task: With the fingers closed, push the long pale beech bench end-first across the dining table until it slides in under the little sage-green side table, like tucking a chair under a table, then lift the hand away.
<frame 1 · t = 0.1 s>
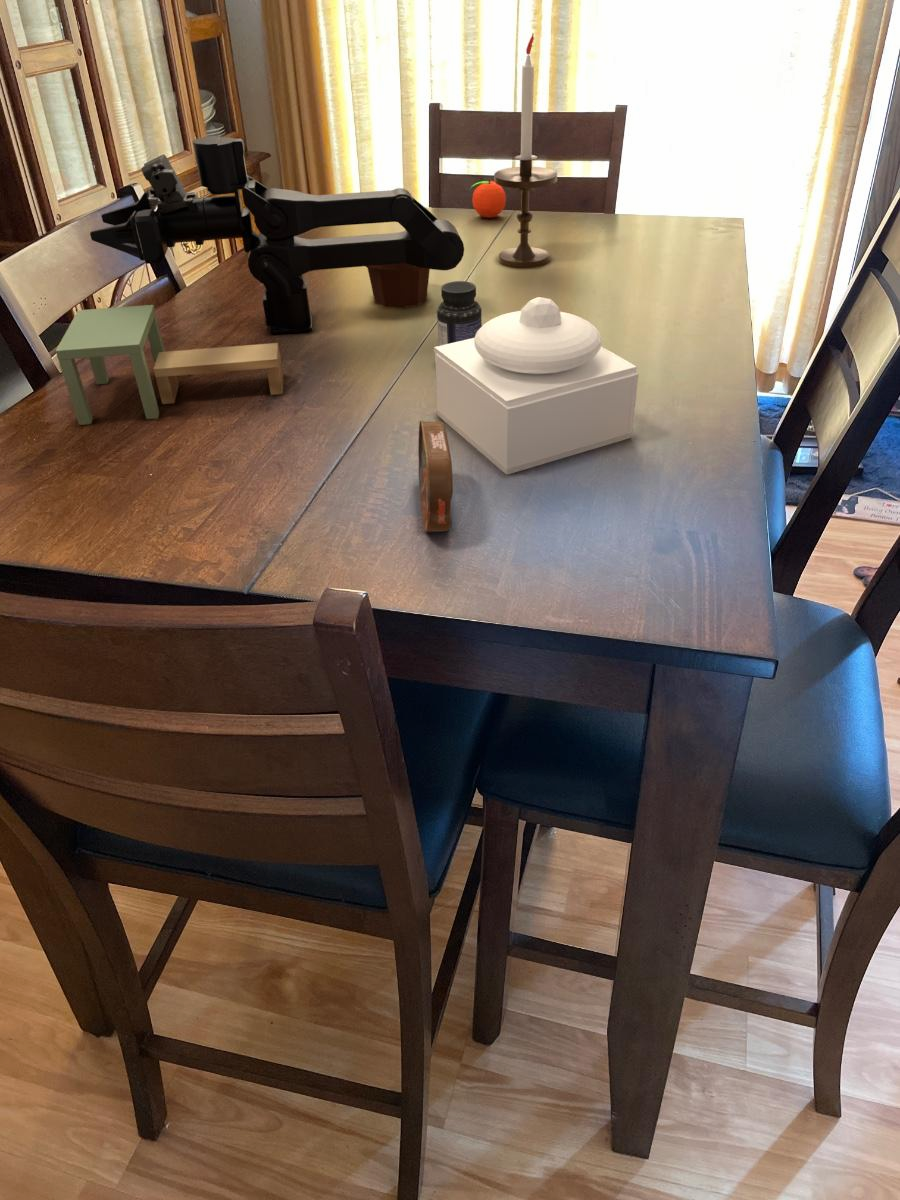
hand: (96, 227, 126), 17 cm above the table, tool horizontal, fingers open, 9 cm apart
clementine: (486, 218, 183), on the table
pill bottle: (460, 366, 125), on the table
candlestick: (523, 260, 161), on the table
muffin: (400, 299, 146), on the table
side table: (127, 398, 119), on the table
tin: (436, 510, 95), on the table
white lidded box: (531, 426, 110), on the table
bench: (224, 390, 120), on the table
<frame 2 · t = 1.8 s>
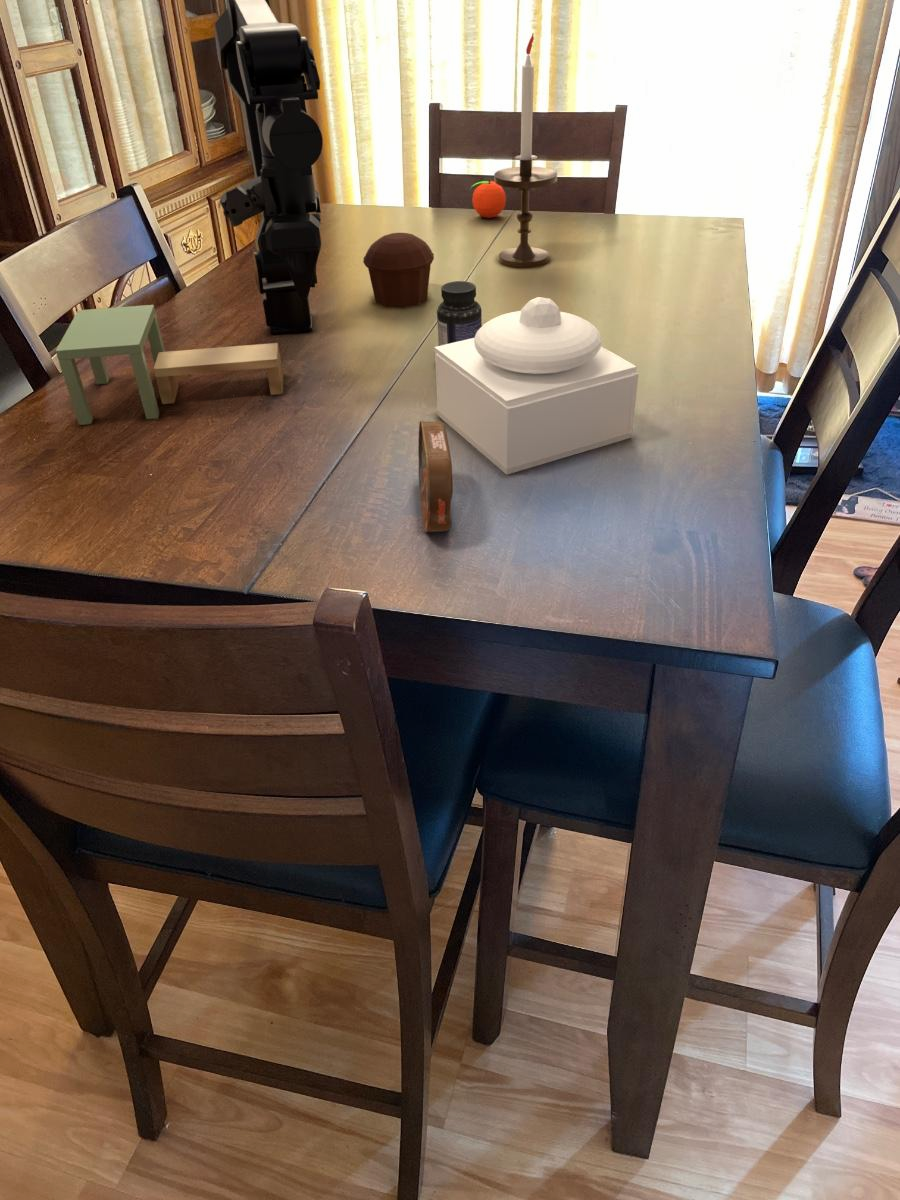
hand: (304, 287, 113), 13 cm above the table, tool pointing down, fingers open, 8 cm apart
nothing on the table moved.
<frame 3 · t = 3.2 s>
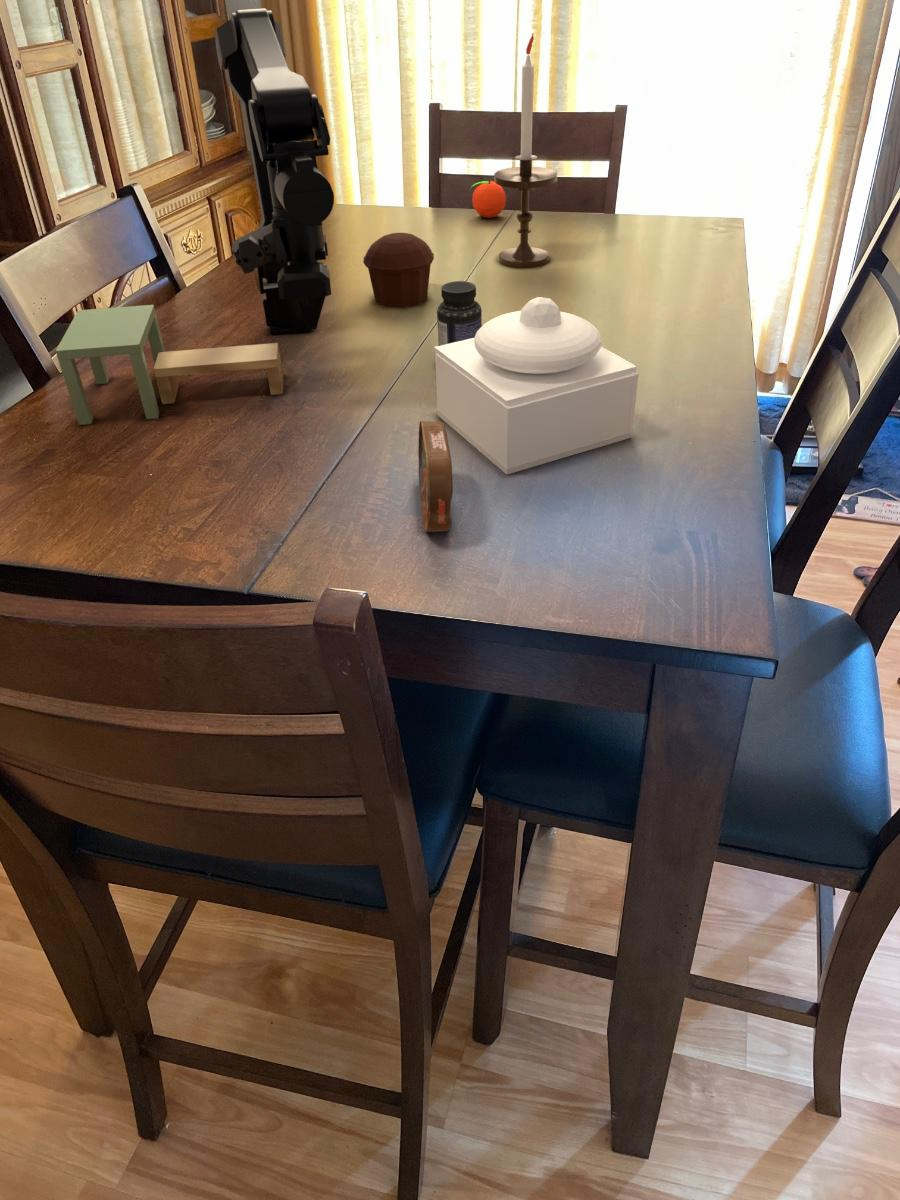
hand: (312, 328, 117), 8 cm above the table, tool pointing down, fingers closed
nothing on the table moved.
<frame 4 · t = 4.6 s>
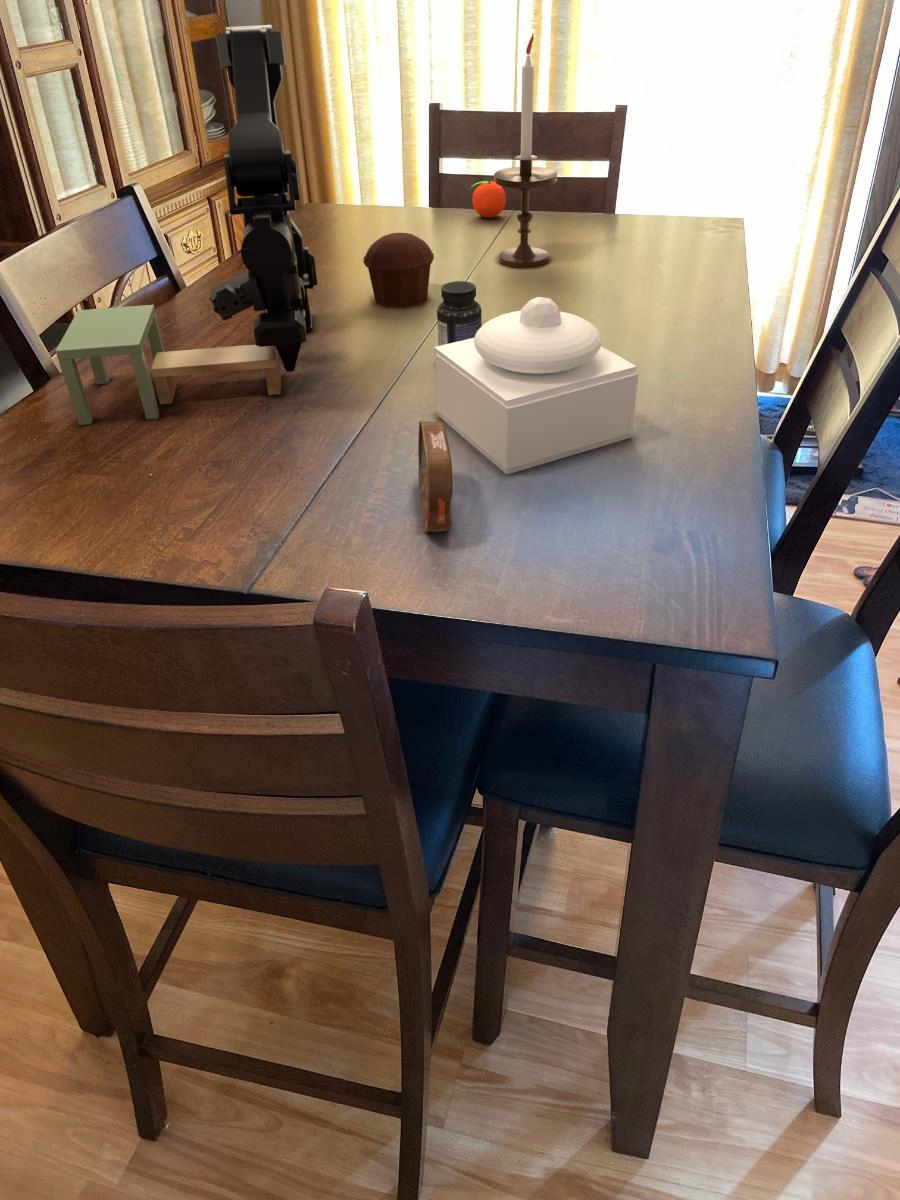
hand: (290, 370, 120), 2 cm above the table, tool pointing down, fingers closed, pressing on bench
bench: (222, 390, 120), on the table, touching gripper
everything else where it was.
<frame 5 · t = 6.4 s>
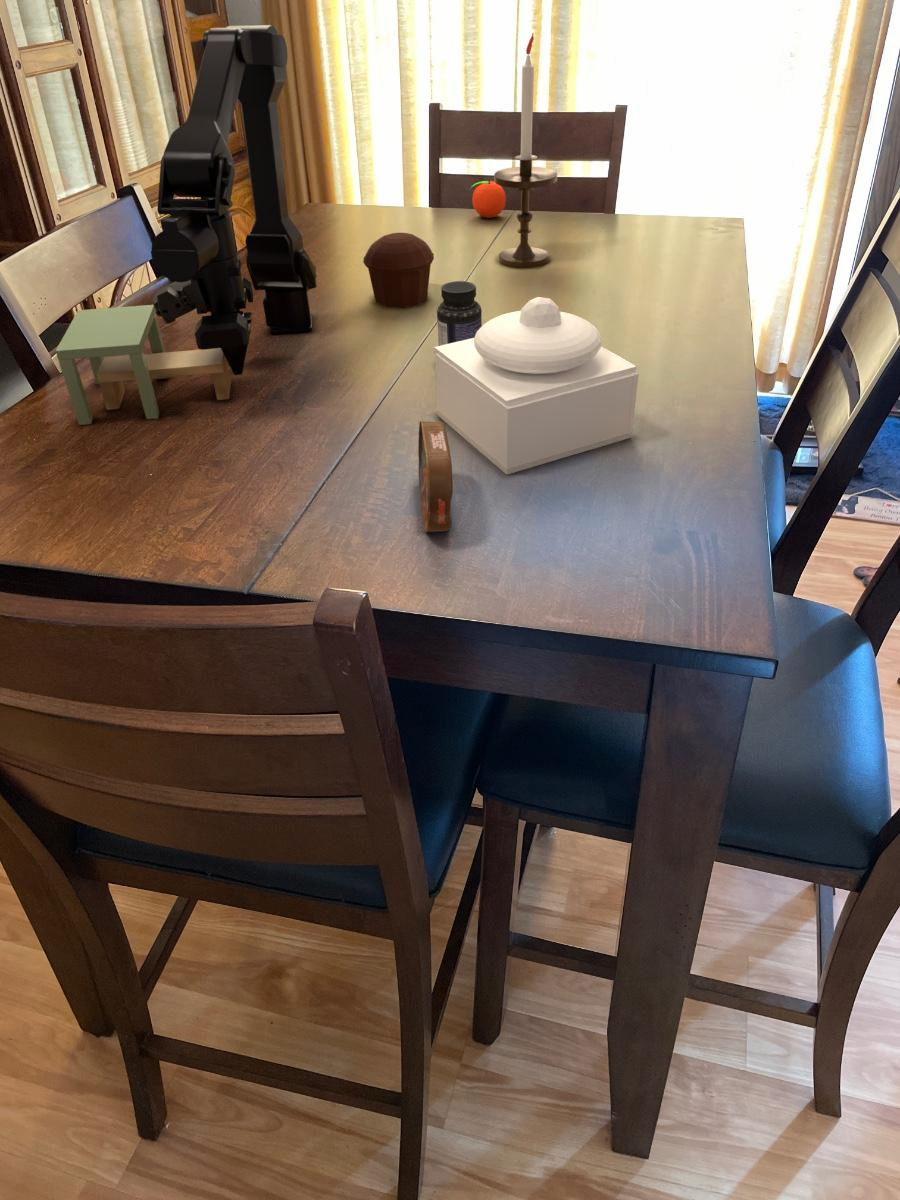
hand: (238, 373, 119), 2 cm above the table, tool pointing down, fingers closed, pressing on bench
bench: (170, 395, 119), on the table, touching gripper
everything else where it was.
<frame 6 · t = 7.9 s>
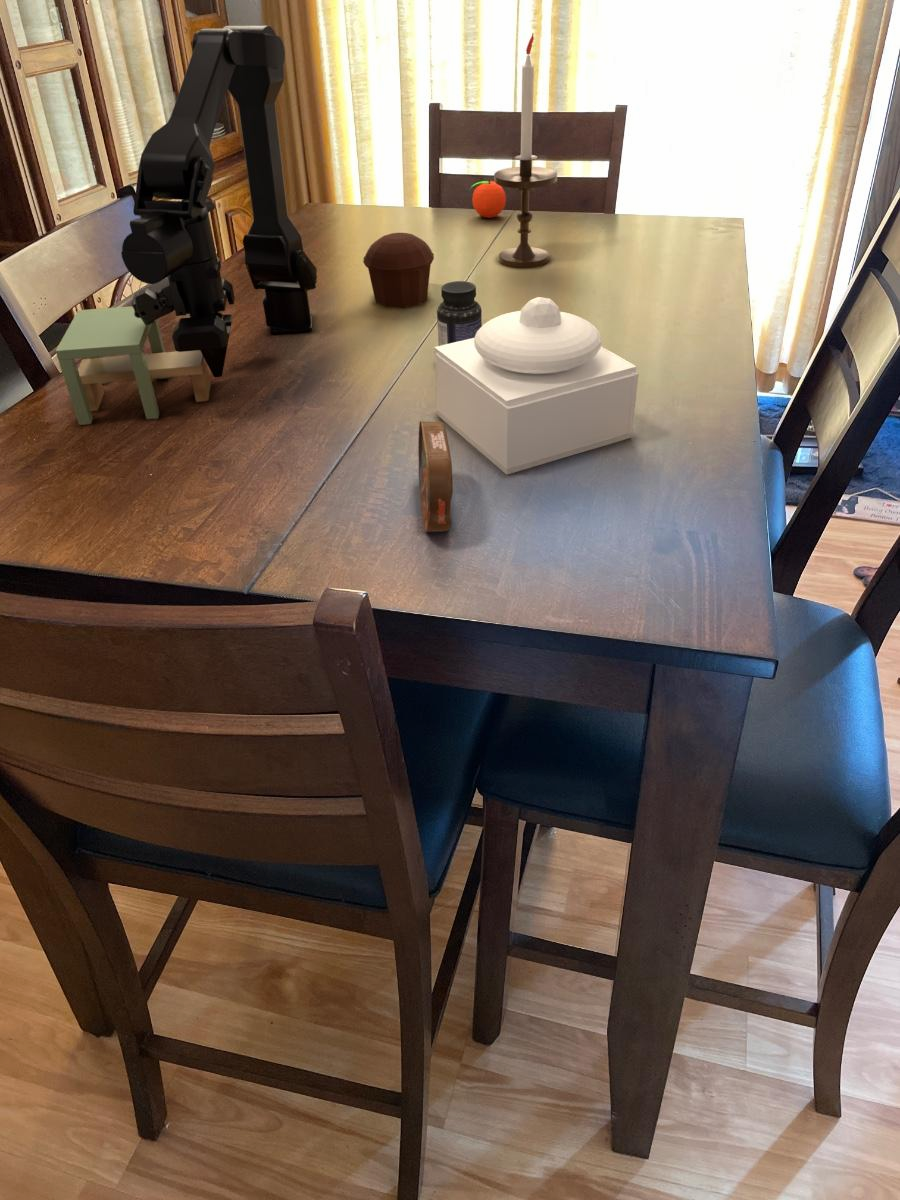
hand: (218, 375, 119), 2 cm above the table, tool pointing down, fingers closed
bench: (149, 397, 119), on the table
everything else where it was.
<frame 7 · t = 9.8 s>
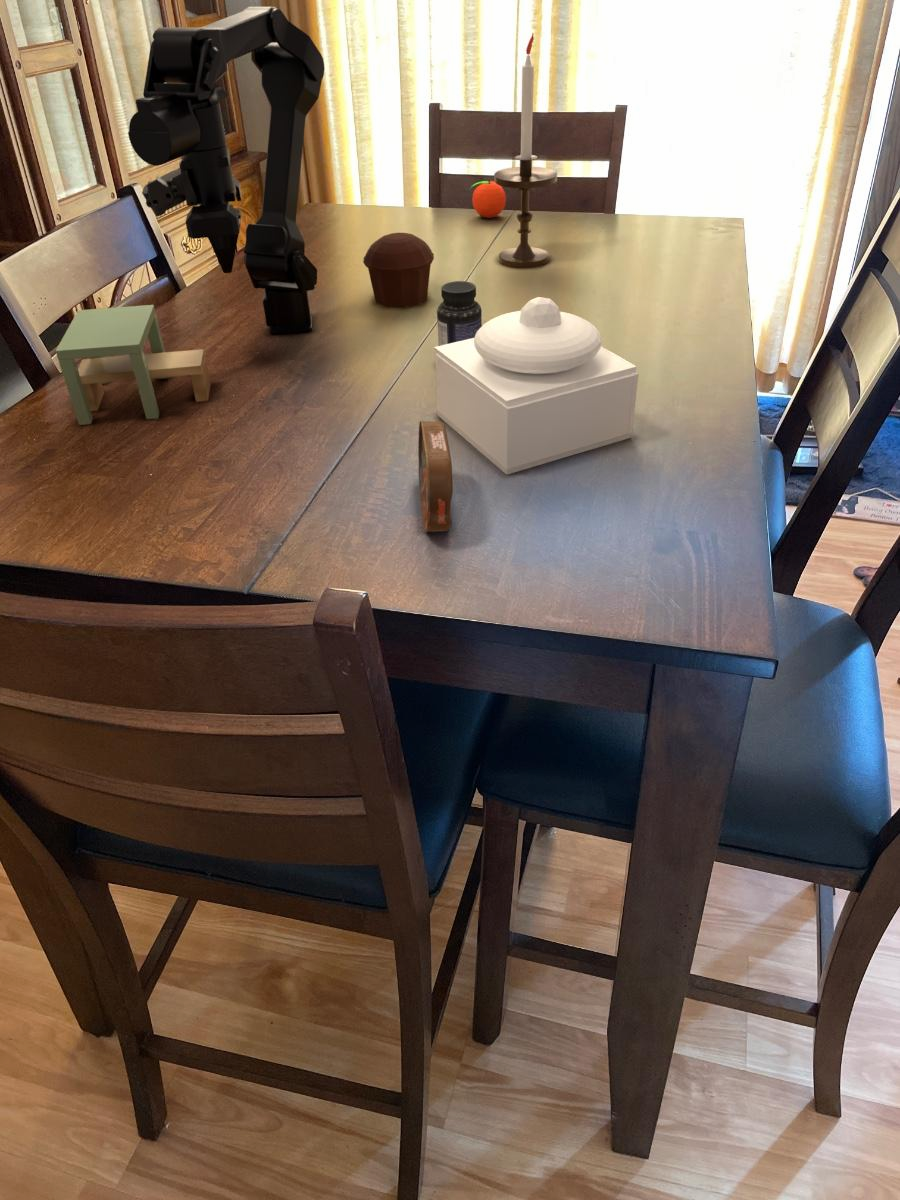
hand: (227, 272, 120), 13 cm above the table, tool pointing down, fingers closed
nothing on the table moved.
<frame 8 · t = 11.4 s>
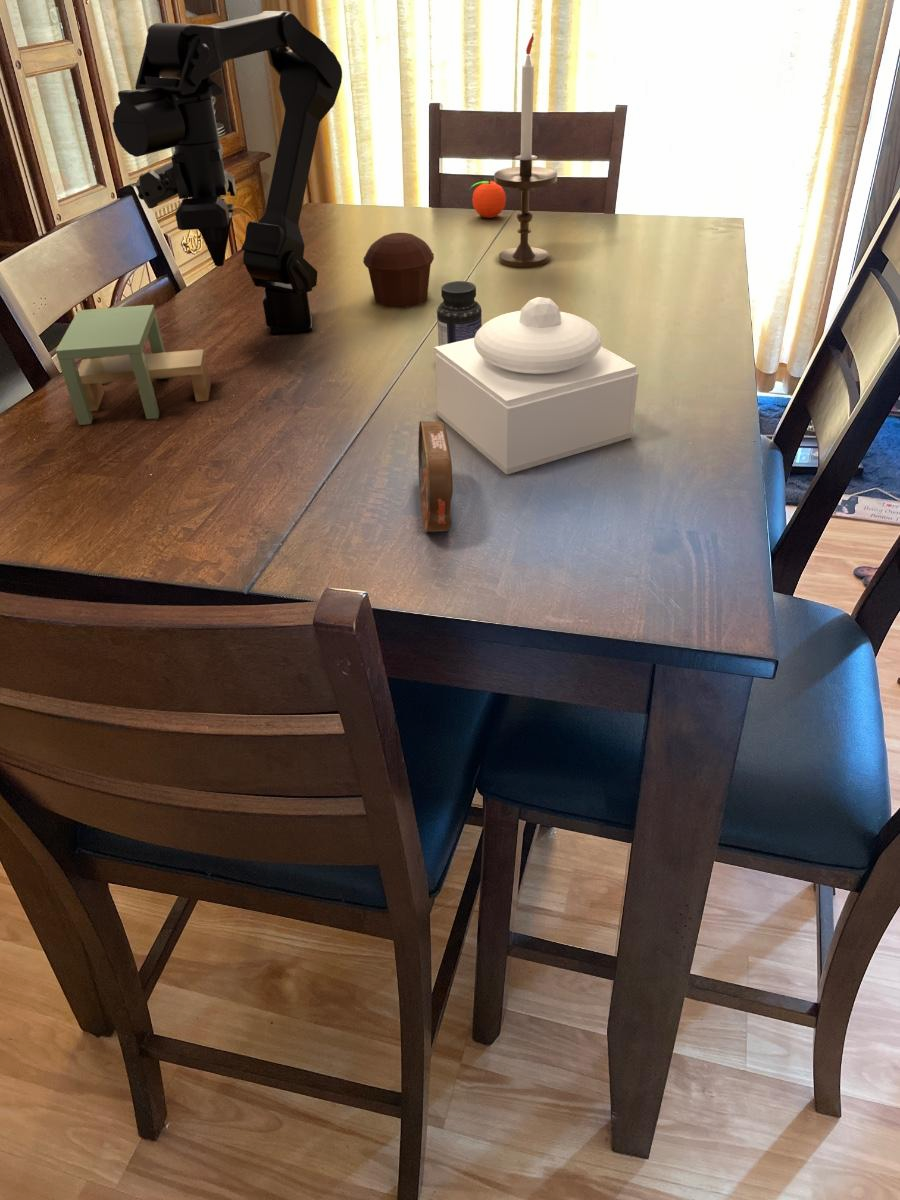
hand: (219, 265, 122), 13 cm above the table, tool pointing down, fingers closed
nothing on the table moved.
at the end: bench inside the target area (2.5 cm from its centre), on the table; bench tilted 0° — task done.
